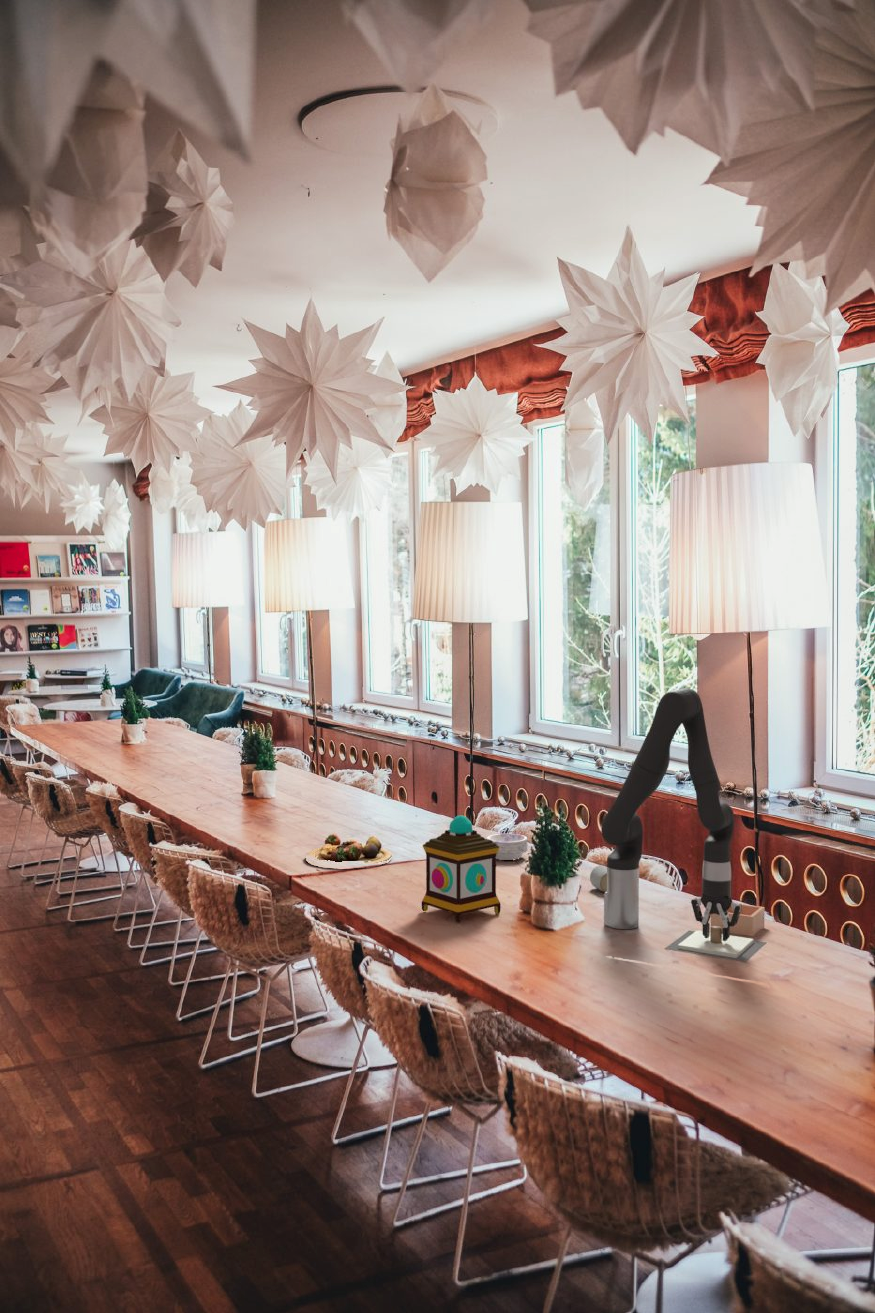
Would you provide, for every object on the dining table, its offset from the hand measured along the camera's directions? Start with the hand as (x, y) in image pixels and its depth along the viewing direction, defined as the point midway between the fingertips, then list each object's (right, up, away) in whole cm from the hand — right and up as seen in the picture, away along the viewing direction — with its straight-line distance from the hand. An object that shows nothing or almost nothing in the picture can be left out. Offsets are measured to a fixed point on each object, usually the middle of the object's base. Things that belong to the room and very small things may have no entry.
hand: (716, 938), depth 306 cm
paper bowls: (-50, +2, +109) cm, 120 cm away
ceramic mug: (-20, 0, +62) cm, 65 cm away
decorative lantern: (-69, -1, +35) cm, 77 cm away
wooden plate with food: (-109, +1, +108) cm, 153 cm away
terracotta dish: (+10, -2, +17) cm, 20 cm away
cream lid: (0, -2, 0) cm, 2 cm away
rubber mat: (0, -3, 0) cm, 3 cm away
